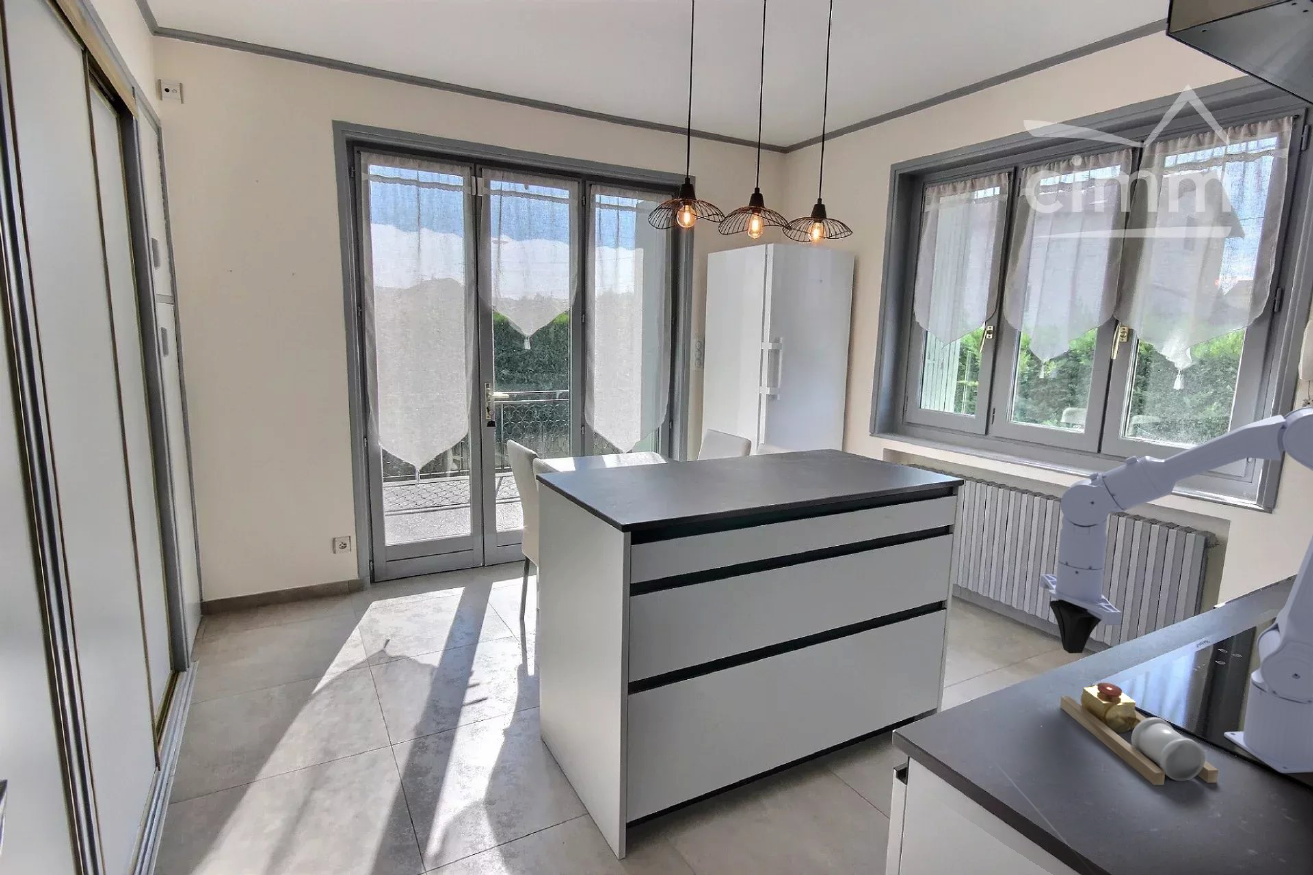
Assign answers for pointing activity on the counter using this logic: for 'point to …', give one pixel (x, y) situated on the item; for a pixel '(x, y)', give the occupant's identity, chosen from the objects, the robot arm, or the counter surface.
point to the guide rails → (1126, 744)
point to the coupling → (1168, 749)
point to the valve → (1110, 706)
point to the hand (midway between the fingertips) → (1072, 651)
